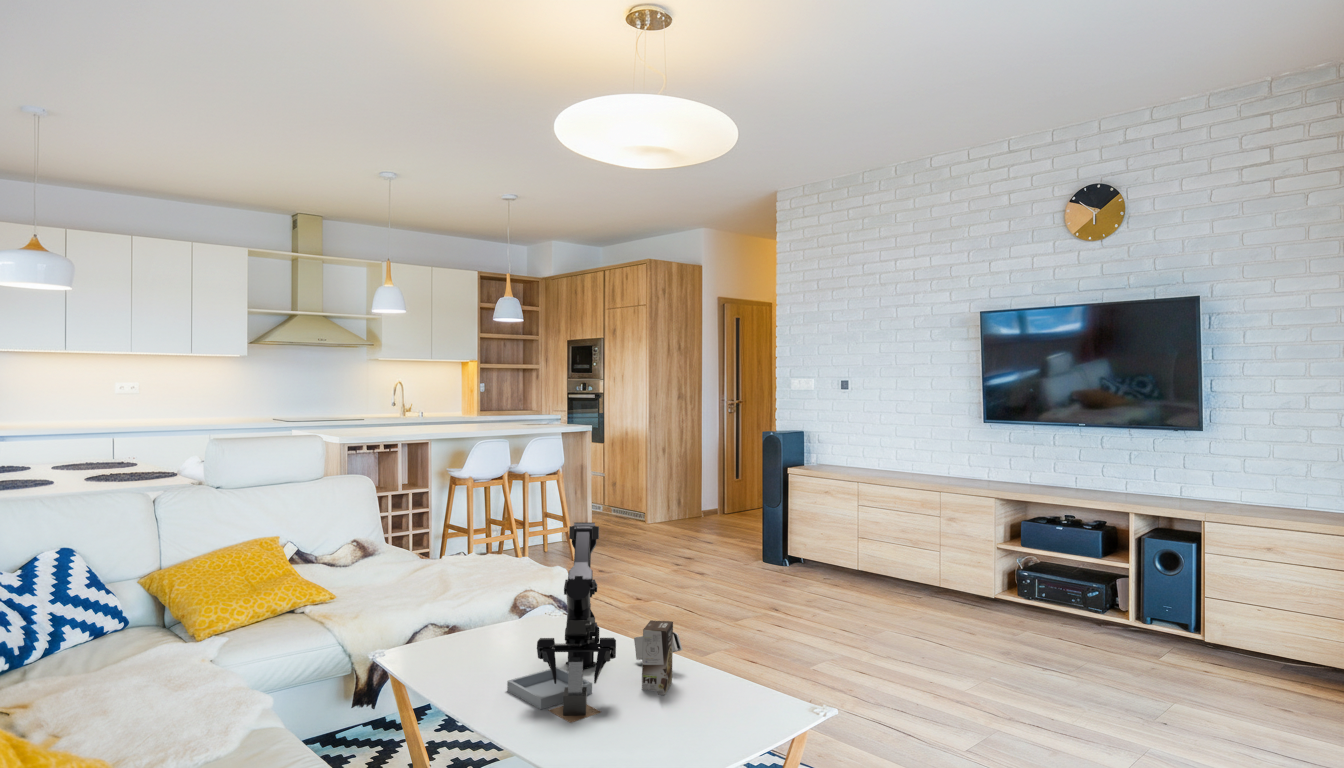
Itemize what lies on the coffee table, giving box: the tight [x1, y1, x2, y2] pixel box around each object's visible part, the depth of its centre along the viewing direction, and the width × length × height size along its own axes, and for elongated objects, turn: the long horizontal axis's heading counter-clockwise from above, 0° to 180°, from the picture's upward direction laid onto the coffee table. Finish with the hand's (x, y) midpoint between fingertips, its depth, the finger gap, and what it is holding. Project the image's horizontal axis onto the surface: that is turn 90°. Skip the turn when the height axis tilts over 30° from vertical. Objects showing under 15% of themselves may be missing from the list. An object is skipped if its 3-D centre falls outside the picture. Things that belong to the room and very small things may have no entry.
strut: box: [562, 657, 588, 716], centre depth 181 cm, size 5×5×12 cm
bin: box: [506, 666, 593, 710], centre depth 192 cm, size 15×15×4 cm
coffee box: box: [641, 620, 674, 696], centre depth 198 cm, size 9×6×16 cm
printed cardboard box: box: [633, 631, 684, 661], centre depth 212 cm, size 4×10×15 cm
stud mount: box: [547, 704, 602, 724], centre depth 180 cm, size 9×9×4 cm
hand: (575, 682), depth 179 cm, fingers open, 9 cm apart
